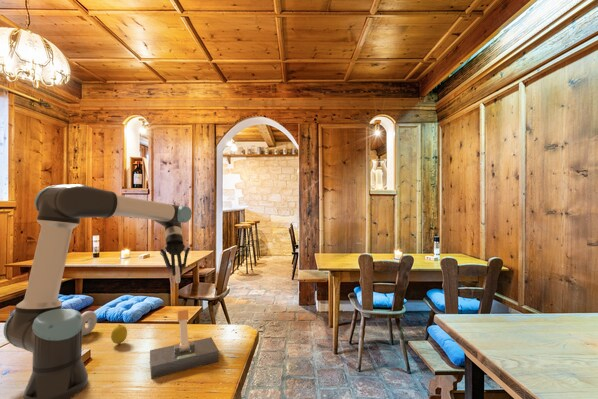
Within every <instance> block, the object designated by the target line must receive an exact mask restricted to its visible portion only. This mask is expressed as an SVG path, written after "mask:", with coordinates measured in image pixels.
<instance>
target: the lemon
mask: <svg viewBox="0 0 598 399" xmlns="http://www.w3.org/2000/svg"><path fill="white" fill-rule="evenodd" d="M127 329H128V328H127V327H126V326H125V325H122V324H118V325H116V326H115V327H113V329H112V331H111V336H110V339H111V341H112V343H114V344H116V345H121V344H122V343H123V342H125V340H126V339H127V335H128V330H127Z"/></svg>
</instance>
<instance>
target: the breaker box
mask: <svg viewBox="0 0 598 399" xmlns="http://www.w3.org/2000/svg"><path fill="white" fill-rule="evenodd" d="M188 342H189V349H186V350H182V351H180V343H175V344H172V345H168V346H164V347H159V348H154V349H150V350H149V365H150V378H151V379H157V378H161V377H164V376H168V375H172V374H176V373H180V372H183V371H187V370H190V369H195V368H198V367H202V366H208V365H210V364H214V363H218V362H219V361H220V360H219V358H220V356H219V348H218V347H217V345H216V343H215V342H214V339H213V337H212V336H211V337H205V338H201V339H200V338H199V339H197V340H192V341H191V340H190V341H189V340H188Z"/></svg>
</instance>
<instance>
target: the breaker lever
mask: <svg viewBox="0 0 598 399" xmlns="http://www.w3.org/2000/svg"><path fill="white" fill-rule="evenodd" d="M176 316H177V317H176V321H177V322H178V323H179V340H180V351H182V350H186V349H189V335H188V334H189V333H188V320H189V309H184V310H178V311H177V312H176Z"/></svg>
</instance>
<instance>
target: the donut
mask: <svg viewBox="0 0 598 399" xmlns="http://www.w3.org/2000/svg"><path fill="white" fill-rule="evenodd" d="M80 314H81V316H82V323H83V326H82V337H84V336H87V335H89V334H90V333H91V332H92V331H93V330H94V329H95V327H96V325H97V323H98V318H97V317H98V316H97V314H96V312H94V311H92V310H87V311H84V312H83V313H80Z"/></svg>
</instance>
